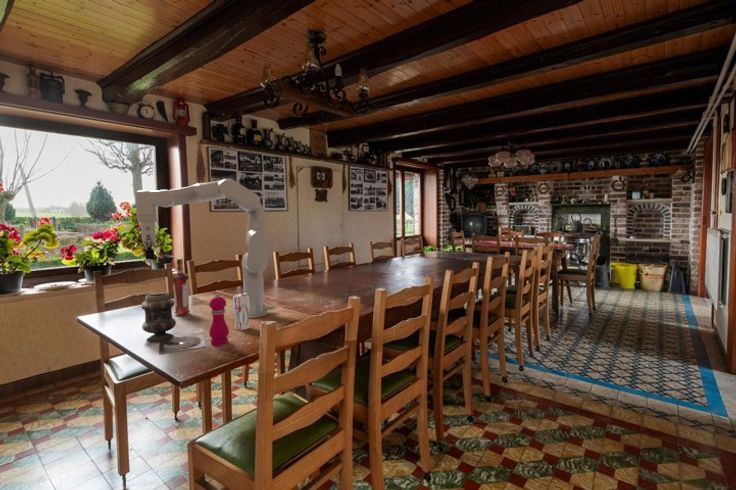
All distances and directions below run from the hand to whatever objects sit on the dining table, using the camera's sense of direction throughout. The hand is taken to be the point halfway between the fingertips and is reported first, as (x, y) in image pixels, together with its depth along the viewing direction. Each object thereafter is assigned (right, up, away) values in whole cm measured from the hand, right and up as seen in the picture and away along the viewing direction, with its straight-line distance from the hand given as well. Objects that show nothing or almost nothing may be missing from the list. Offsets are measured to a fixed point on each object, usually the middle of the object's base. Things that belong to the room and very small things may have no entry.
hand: (149, 258), depth 170 cm
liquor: (+2, -29, +25) cm, 39 cm away
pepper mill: (+37, -33, -18) cm, 53 cm away
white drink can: (+40, -31, +2) cm, 51 cm away
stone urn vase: (+11, -32, -12) cm, 36 cm away
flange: (+23, -33, -18) cm, 44 cm away
